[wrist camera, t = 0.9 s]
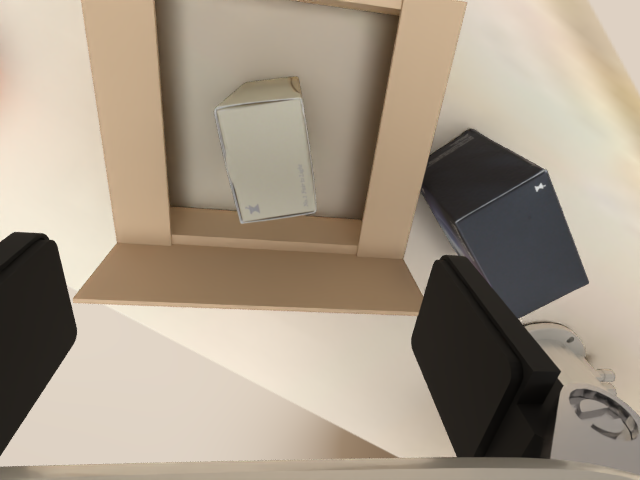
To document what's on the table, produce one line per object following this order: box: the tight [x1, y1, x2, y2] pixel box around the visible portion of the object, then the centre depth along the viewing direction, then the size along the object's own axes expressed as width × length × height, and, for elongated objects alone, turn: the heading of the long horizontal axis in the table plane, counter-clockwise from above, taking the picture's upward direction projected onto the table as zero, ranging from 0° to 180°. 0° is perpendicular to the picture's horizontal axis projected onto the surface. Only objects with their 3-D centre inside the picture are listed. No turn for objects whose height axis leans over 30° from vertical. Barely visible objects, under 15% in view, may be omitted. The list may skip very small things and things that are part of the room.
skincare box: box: [214, 77, 317, 224], centre depth 25 cm, size 6×4×12 cm
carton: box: [73, 0, 467, 316], centre depth 25 cm, size 22×18×12 cm
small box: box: [420, 129, 589, 318], centre depth 30 cm, size 11×6×10 cm, turn 34°
